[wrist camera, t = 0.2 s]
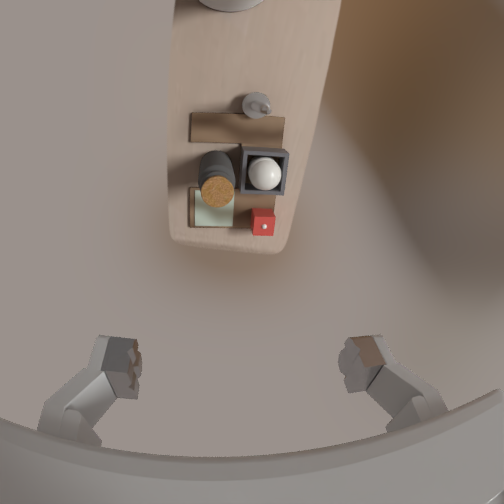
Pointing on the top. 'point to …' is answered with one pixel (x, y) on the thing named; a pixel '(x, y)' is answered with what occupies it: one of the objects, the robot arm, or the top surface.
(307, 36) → the top surface
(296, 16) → the top surface
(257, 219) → the red die
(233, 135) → the game board
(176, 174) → the top surface
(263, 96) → the screw
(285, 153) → the dome collar
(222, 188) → the bottle
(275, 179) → the dome cap
